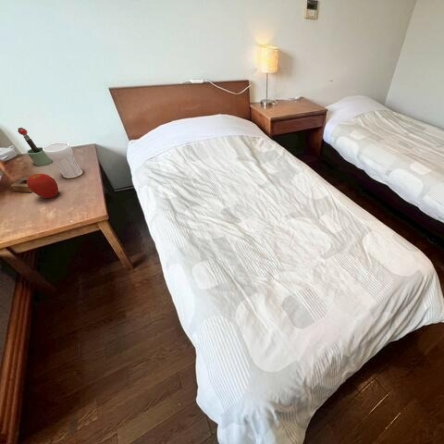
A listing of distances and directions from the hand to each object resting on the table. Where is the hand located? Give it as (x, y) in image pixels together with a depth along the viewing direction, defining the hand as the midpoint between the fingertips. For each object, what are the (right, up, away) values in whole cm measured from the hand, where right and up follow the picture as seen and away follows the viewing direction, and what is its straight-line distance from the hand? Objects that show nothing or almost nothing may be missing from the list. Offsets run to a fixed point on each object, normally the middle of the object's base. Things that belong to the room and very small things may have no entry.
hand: (3, 145), depth 127 cm
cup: (+22, -12, +16) cm, 30 cm away
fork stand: (+9, -21, +4) cm, 24 cm away
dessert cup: (-1, -3, +22) cm, 22 cm away
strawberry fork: (-1, -3, +22) cm, 22 cm away
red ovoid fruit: (+24, -26, +1) cm, 36 cm away
